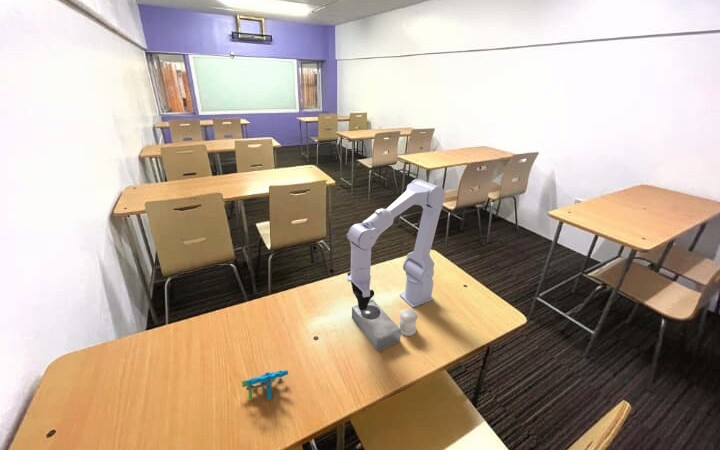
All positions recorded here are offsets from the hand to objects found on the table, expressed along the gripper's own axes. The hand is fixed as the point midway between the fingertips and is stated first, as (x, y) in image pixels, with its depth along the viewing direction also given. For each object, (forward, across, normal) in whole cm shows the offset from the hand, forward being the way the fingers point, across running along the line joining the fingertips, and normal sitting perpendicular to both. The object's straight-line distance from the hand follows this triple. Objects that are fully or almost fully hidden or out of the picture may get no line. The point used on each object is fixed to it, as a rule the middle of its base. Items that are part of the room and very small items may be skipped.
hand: (359, 301), depth 93 cm
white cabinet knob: (+10, +5, +14) cm, 18 cm away
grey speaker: (+10, +3, +4) cm, 11 cm away
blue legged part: (+10, +16, -28) cm, 34 cm away
